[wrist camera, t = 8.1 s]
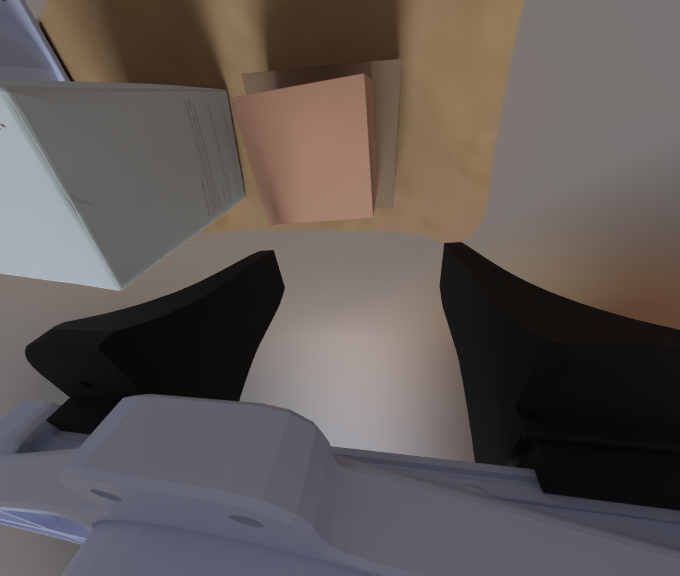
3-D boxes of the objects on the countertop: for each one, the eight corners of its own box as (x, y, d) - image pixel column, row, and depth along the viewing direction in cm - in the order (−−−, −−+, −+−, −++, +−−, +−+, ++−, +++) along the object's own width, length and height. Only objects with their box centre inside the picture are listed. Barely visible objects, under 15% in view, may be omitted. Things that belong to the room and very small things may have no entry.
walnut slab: (289, 191, 21) (270, 208, 18) (270, 77, 17) (241, 73, 13) (392, 189, 19) (392, 207, 16) (399, 66, 15) (401, 58, 12)
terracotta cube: (298, 194, 17) (269, 224, 13) (277, 97, 14) (230, 97, 10) (377, 186, 16) (372, 217, 12) (372, 81, 13) (364, 73, 9)
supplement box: (126, 81, 18) (-220, 64, 8) (230, 88, 17) (-2, 80, 7) (164, 192, 22) (-24, 273, 12) (247, 201, 22) (121, 296, 11)
